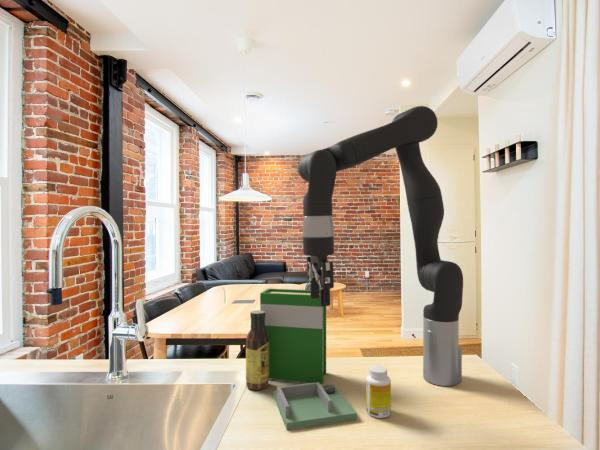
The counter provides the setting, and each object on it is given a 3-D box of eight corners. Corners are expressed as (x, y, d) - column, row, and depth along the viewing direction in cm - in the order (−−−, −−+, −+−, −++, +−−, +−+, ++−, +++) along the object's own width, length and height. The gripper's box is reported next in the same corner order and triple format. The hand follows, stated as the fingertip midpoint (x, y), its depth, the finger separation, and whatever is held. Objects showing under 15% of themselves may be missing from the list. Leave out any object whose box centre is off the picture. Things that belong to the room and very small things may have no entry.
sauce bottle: (265, 392, 96) (265, 315, 95) (242, 390, 97) (242, 314, 96) (272, 381, 102) (272, 309, 102) (250, 379, 103) (250, 308, 103)
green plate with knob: (333, 389, 97) (333, 374, 97) (356, 419, 82) (356, 401, 82) (273, 397, 93) (273, 381, 93) (286, 430, 78) (286, 411, 78)
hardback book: (326, 372, 108) (326, 290, 107) (322, 383, 101) (322, 295, 100) (268, 367, 111) (268, 288, 111) (260, 378, 104) (260, 293, 104)
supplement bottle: (395, 416, 84) (395, 371, 84) (374, 421, 82) (374, 375, 82) (382, 405, 89) (382, 362, 89) (361, 409, 87) (361, 366, 87)
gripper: (343, 235, 83) (345, 307, 83) (324, 233, 97) (325, 294, 97) (311, 236, 81) (313, 310, 82) (296, 234, 95) (298, 297, 95)
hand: (319, 301), depth 89 cm, fingers open, 8 cm apart
